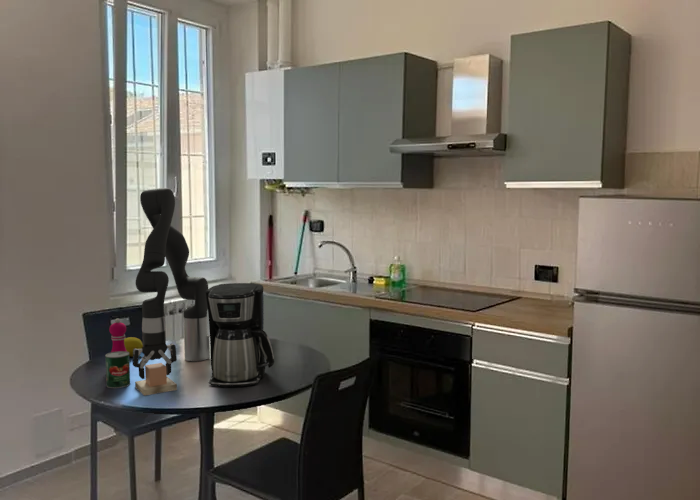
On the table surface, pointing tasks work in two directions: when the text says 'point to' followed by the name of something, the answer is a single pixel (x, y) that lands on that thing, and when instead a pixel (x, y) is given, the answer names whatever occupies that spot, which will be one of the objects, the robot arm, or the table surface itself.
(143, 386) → the post base
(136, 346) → the lemon
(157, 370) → the cardboard cube
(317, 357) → the table surface
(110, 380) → the canned tomato
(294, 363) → the table surface
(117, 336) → the pepper mill
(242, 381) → the coffee maker
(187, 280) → the robot arm
